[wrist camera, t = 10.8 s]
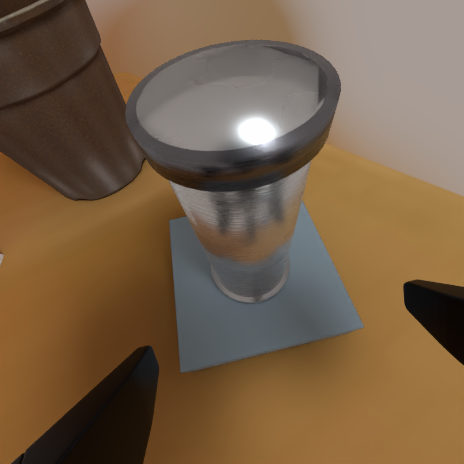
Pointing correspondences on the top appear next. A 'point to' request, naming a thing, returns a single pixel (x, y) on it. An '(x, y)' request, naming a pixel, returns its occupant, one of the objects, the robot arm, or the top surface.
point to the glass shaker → (238, 150)
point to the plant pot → (62, 100)
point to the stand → (256, 315)
